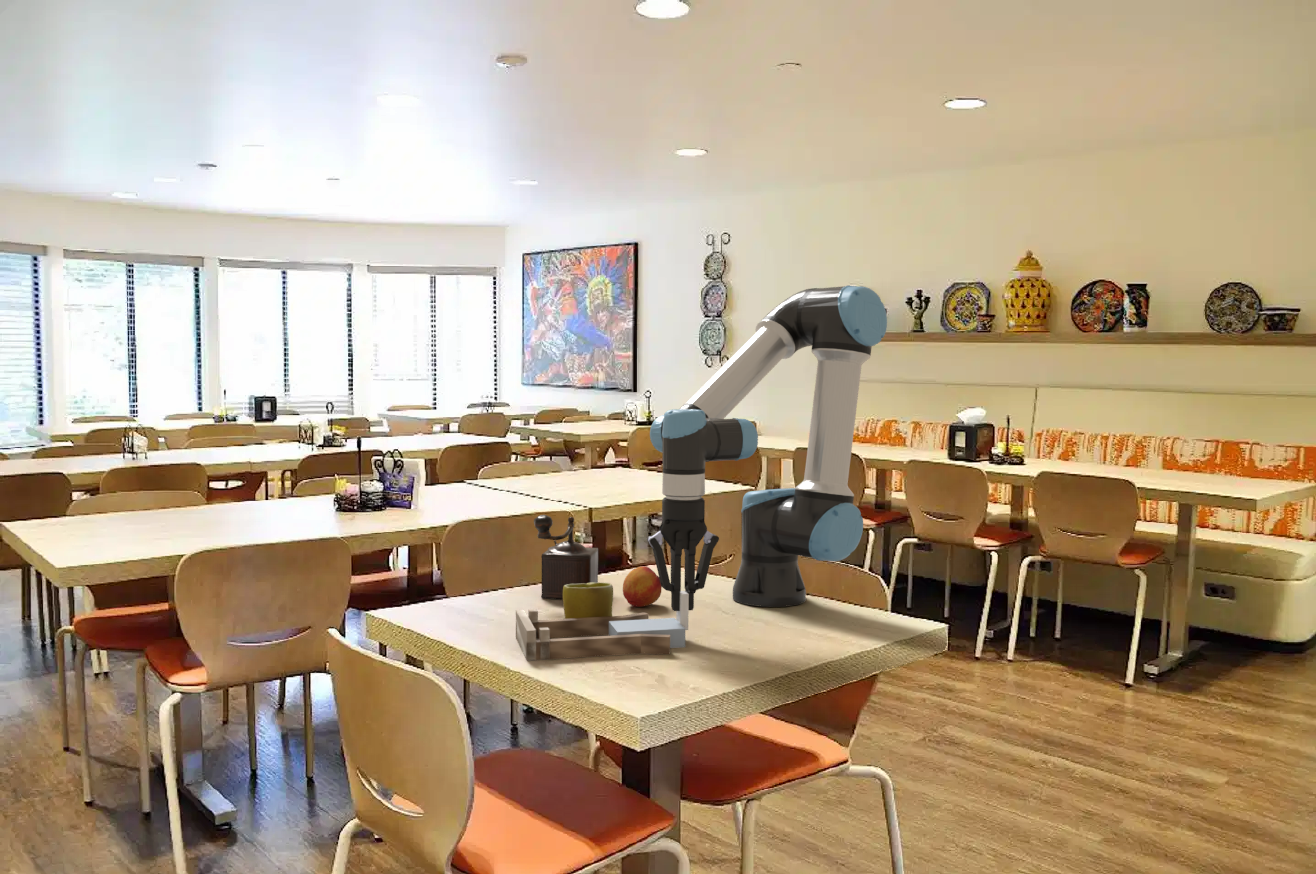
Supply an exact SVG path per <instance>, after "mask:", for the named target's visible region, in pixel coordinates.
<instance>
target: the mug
mask: <svg viewBox="0 0 1316 874" xmlns="http://www.w3.org/2000/svg"><path fill="white" fill-rule="evenodd" d="M613 602H614V587H613V584H612V583H609V582H600V581H598V583H594V582H592V583H586V584H585V583H581V584H567V585H564V587H563V600H562V603H563V605H562V606H563V612H564V619H570V618H589V617H608V616H613Z"/></svg>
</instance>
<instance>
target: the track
mask: <svg viewBox="0 0 1316 874" xmlns="http://www.w3.org/2000/svg"><path fill="white" fill-rule="evenodd" d="M642 619H649V613H647V612H639V613H631V614H624V615H612V616H608V617H589V618H570V619H565V618H557V619H555V618H554V619H539V609H537V608H536V609H535V608H533V609H528V612H527V613H526V611H525V610H524V609H521V610H520V609H519V610H518V609H516V610H515V640H516V641H517V643H518V645H519V647H520V649H521V651H522V653H523V656H524V658H525V660H526V661H540V660H541V661H544V660H559V659H575V658H589V657H590V658H591V657H607V656H608V657H609V656H624V655H638V654H639V655H640V654H643V655H645V654H646V655H670V653H671V648H670V635H660V634H630V635H612V636H609V621H622V620H642Z"/></svg>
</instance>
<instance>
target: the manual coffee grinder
mask: <svg viewBox="0 0 1316 874" xmlns="http://www.w3.org/2000/svg"><path fill="white" fill-rule="evenodd" d="M567 521H568V523H567V529H566V531H565V532H564V533H563V534H560V535H552V534H551V532H550V529H551V527H552V526H553V522H554V521H553V519H552V517H551V516H549V515H547V514H541V515H538V516H536V517H535V518H533V523H534V524H533V525H534V528H536V529H537V531H538V532H537V538H538V539H542V540H551V541H553V543H554V546H553V545H552V546H549V547H548V548H547V550H546V551H544V552H543V553H542V554H541V594H540V598H542V599H548V600H559V601H560V600H562V601H563V587H564V585H567V584H581V583H585V584H586V583H592V582H594V583H598V582H599V548H598V547H585V545H584V544H581V543H579V542H577V541H574V534H573V533H574V528H575V523H574V522H575V518H574V517H573V516H569V517H568V519H567ZM567 537H568V539H567V540H565V541H561V542H559V543H557V541H560V540H564V539H565V538H567Z"/></svg>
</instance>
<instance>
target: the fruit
mask: <svg viewBox="0 0 1316 874" xmlns="http://www.w3.org/2000/svg"><path fill="white" fill-rule="evenodd" d="M661 594H662V586H661V583H660V579H659V575H657V573H656V572H655V571H653V569H651V568H650V567H648V566H643V565H642V566H639V567H636V568H634V569H632V570H631V571H629V572H628V574H626V576H625V578H624V580H623V585H622V595H623V597H624V599H625V600H626V601H627V604H629V605H631V606H632V607H635V608H642V607H648V606H650V605H652V604H654V603H655V602H657V600H659V598H660V597H661Z"/></svg>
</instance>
